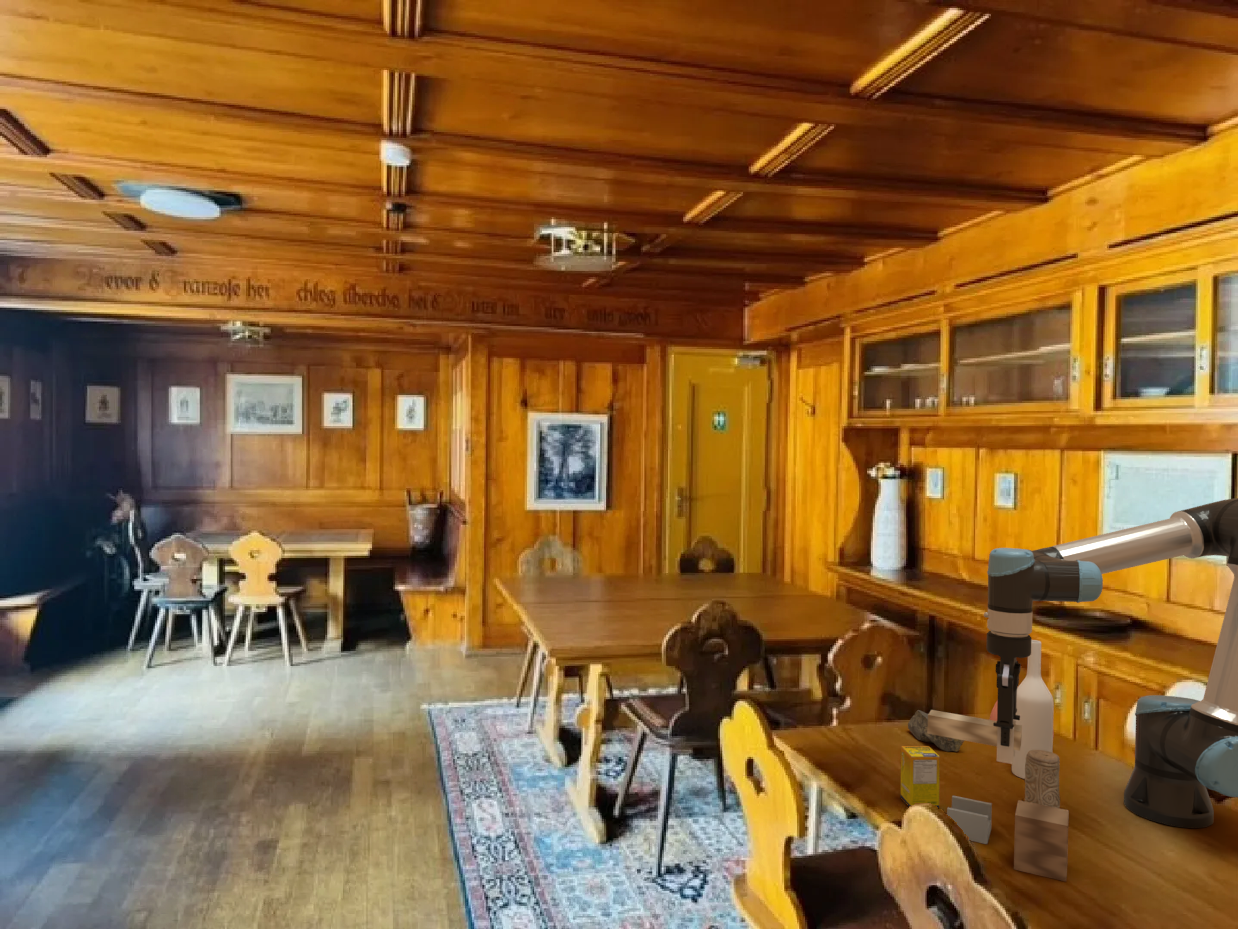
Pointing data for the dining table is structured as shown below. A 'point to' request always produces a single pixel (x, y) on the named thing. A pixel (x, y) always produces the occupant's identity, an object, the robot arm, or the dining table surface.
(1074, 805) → the dining table surface
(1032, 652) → the bottle
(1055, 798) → the carving
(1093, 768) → the dining table surface
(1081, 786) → the dining table surface
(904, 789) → the supplement box
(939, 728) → the axle bar
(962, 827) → the cradle
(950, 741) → the rock
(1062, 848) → the block
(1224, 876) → the dining table surface
